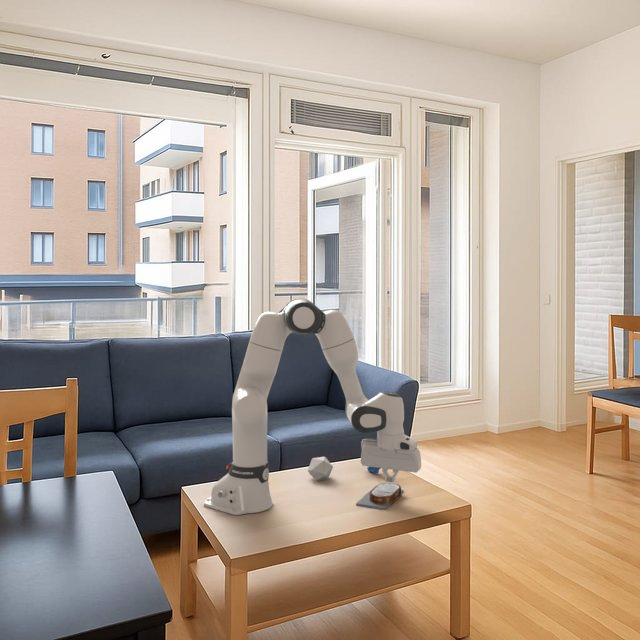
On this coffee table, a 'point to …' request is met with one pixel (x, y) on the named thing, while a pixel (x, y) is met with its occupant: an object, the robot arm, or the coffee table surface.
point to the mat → (368, 503)
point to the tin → (385, 493)
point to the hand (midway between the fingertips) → (390, 481)
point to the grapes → (373, 469)
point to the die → (320, 468)
